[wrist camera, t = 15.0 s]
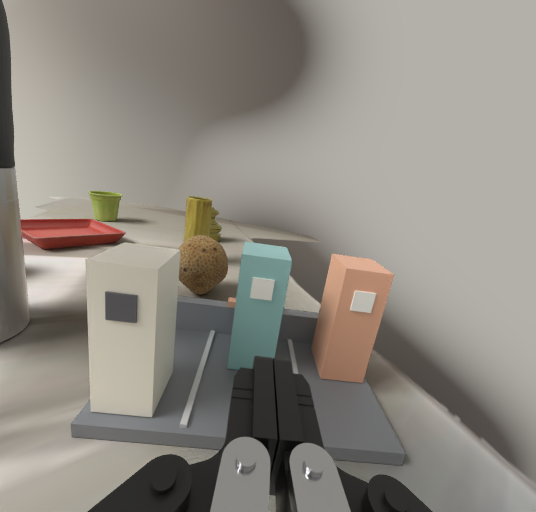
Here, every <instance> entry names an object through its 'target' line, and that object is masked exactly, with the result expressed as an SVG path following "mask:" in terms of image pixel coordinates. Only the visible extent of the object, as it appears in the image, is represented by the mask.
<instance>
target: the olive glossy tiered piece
mask: <svg viewBox="0 0 536 512" xmlns="http://www.w3.org/2000/svg"><path fill="white" fill-rule="evenodd" d="M218 214H219V211H217V210H215V209H214V208H213V207H212V208H211V221H210V235H209V237H210V238H212V239H214V240H215V241H217V242H218V241H220V236H221V234H220V233H219V232H220V231H221V229H222V227H221V226H220V225H219V224H218V223H217V222H216V220H215V216H216V215H218Z"/></svg>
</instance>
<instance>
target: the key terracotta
mask: <svg viewBox="0 0 536 512" xmlns="http://www.w3.org/2000/svg"><path fill="white" fill-rule="evenodd" d="M393 277H394V274H392V273H391V272H389V271H388V270H387V269H385V268H384V267H382V266H381V265H379V264H378V263H377V262H375V261H374V260H372V259H366V258H359V257H351V256H344V255H337V254H332V258H331V262H330V267H329V271H328V275H327V280H326V284H325V289H324V293H323V298H322V302H321V307H320V311H319V316H318V320H317V325H316V329H315V334H314V338H313V343H312V347H311V350H312V353H313V357H314V360H315V363H316V366H317V370H318V373H319V376H320V378H321V379H330V380H339V381H348V382H358V383H363V380H364V376H365V373H366V369H367V366H368V363H369V359H370V356H371V352H372V349H373V346H374V342H375V339H376V335H377V332H378V328H379V325H380V322H381V318H382V315H383V311H384V308H385V305H386V301H387V298H388V294H389V291H390V287H391V284H392V281H393Z"/></svg>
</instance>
